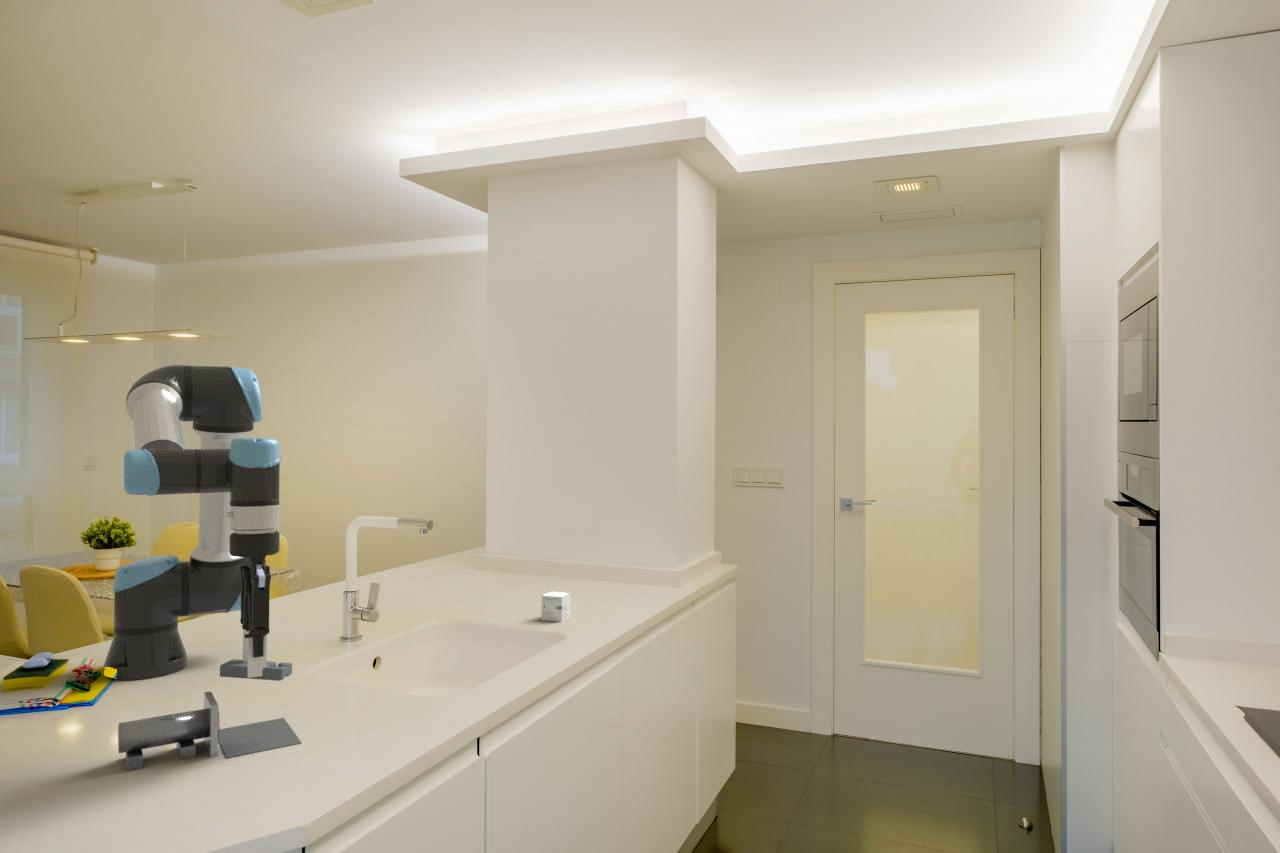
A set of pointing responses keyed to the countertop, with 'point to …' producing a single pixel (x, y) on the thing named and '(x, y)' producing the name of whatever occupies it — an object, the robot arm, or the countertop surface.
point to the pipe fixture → (171, 733)
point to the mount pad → (256, 737)
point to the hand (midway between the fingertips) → (254, 672)
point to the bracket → (271, 672)
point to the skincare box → (556, 606)
